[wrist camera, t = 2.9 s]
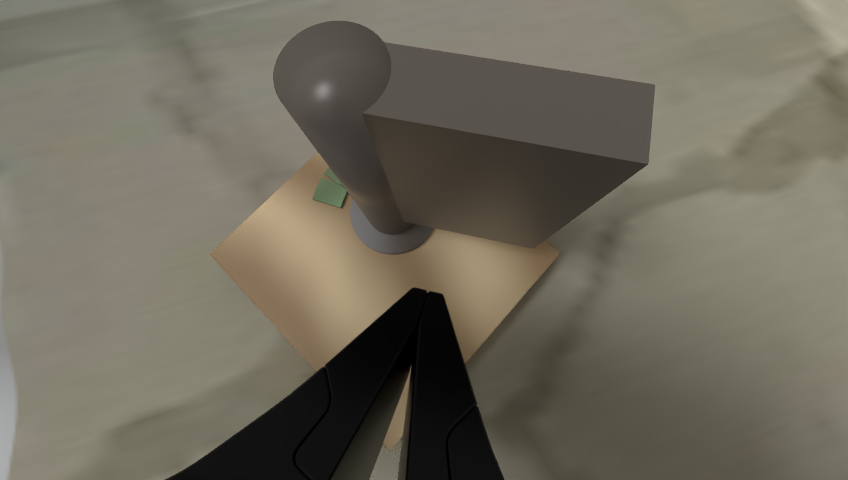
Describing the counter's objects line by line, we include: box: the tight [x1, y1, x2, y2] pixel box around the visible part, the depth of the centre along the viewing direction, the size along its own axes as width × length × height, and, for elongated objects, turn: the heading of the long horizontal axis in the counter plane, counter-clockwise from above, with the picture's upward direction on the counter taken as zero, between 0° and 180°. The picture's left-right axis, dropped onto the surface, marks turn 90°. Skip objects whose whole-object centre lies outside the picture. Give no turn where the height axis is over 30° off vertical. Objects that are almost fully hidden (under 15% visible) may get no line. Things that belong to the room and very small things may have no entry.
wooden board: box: [209, 153, 560, 451], centre depth 17 cm, size 12×13×2 cm
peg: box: [273, 21, 655, 249], centre depth 12 cm, size 6×8×10 cm
